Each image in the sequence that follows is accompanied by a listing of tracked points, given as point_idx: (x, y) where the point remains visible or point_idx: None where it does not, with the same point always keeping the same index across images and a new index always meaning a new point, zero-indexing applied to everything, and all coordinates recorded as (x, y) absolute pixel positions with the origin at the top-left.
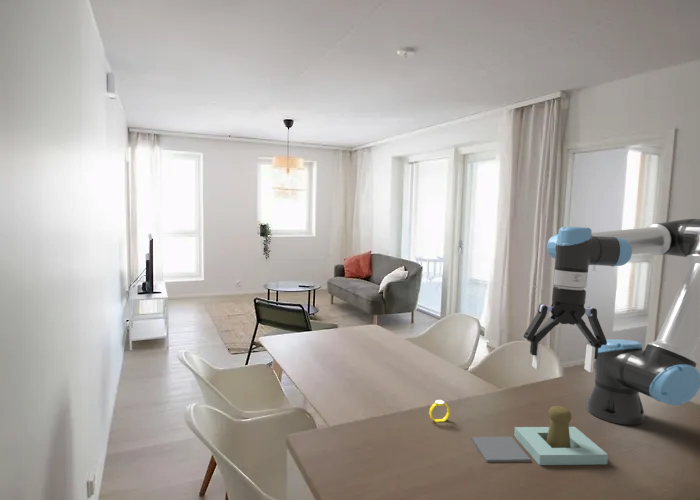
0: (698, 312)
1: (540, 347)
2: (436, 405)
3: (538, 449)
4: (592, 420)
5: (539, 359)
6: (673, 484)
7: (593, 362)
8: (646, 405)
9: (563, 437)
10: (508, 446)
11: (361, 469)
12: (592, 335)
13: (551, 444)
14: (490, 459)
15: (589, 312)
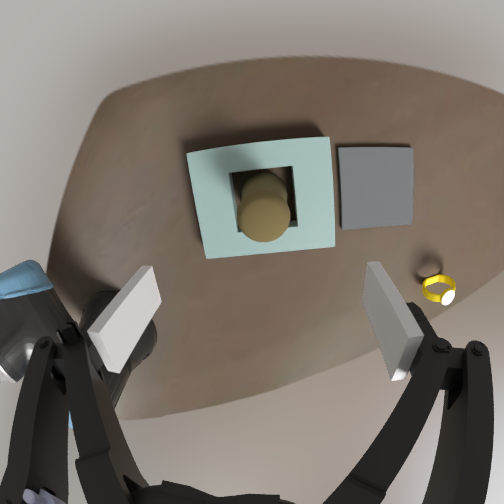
0: None
1: (405, 324)
2: (453, 289)
3: (323, 158)
4: None
5: (385, 284)
6: (116, 112)
7: (124, 288)
8: None
9: (262, 183)
10: (362, 192)
11: None
12: (70, 384)
13: (283, 187)
14: (406, 148)
15: None
